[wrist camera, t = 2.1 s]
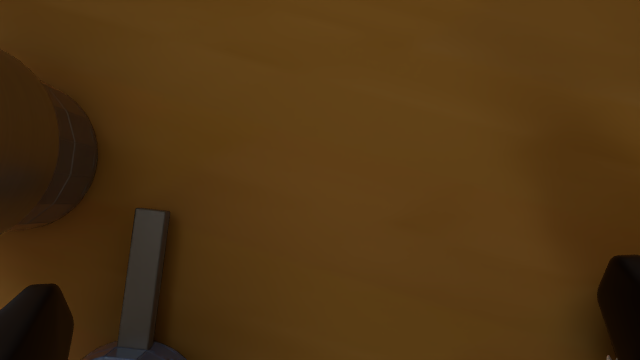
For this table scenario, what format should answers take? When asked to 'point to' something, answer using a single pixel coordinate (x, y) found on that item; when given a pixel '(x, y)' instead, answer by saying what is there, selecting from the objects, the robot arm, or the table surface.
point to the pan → (134, 353)
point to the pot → (66, 163)
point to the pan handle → (143, 279)
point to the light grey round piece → (24, 141)
